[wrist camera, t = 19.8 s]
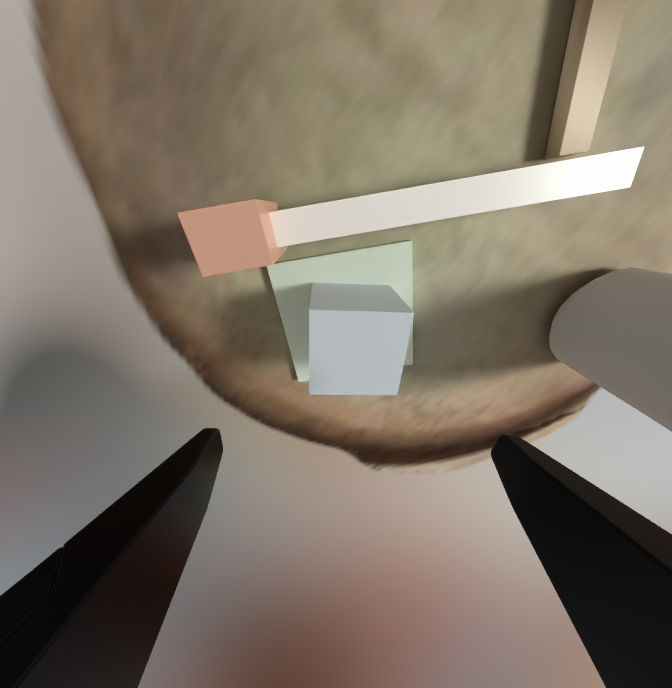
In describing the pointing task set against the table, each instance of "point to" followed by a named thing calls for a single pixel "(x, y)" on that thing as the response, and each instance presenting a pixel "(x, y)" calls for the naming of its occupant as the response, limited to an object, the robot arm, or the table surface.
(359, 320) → the block
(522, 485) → the robot arm
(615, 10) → the wooden u frame
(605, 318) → the can
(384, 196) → the bar
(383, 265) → the mat
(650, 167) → the table surface
